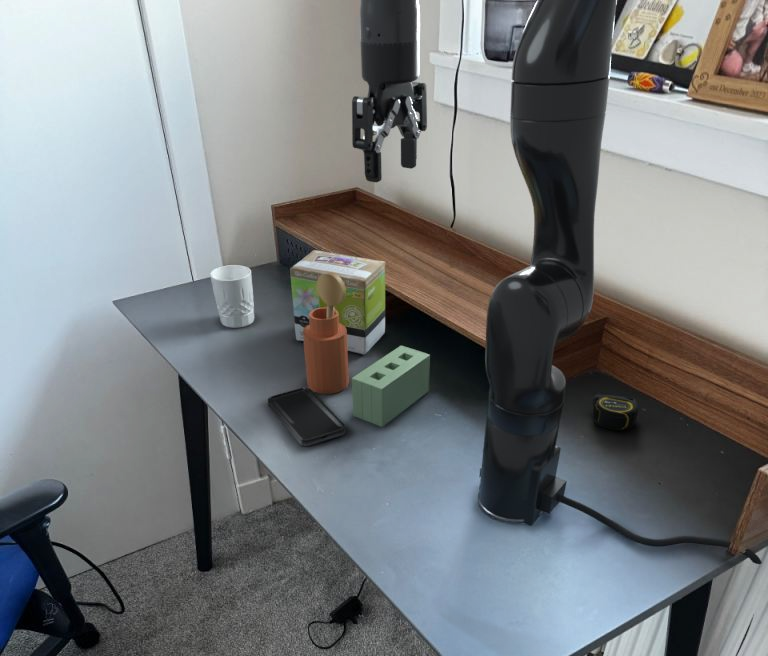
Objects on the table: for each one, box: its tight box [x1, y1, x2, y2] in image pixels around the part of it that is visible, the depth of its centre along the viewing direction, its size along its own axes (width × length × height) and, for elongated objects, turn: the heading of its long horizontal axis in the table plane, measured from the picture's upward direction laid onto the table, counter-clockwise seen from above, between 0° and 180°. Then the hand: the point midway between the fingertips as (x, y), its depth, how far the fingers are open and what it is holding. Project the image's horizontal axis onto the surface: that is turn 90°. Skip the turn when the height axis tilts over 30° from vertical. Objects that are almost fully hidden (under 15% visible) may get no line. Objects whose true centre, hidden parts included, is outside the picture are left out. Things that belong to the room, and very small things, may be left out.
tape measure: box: [592, 393, 639, 431], centre depth 115 cm, size 7×7×4 cm
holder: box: [351, 345, 431, 428], centre depth 119 cm, size 6×14×7 cm, turn 144°
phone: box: [267, 386, 346, 447], centre depth 117 cm, size 8×1×15 cm
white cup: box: [209, 264, 255, 329], centre depth 143 cm, size 8×8×10 cm
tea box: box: [289, 249, 386, 356], centre depth 135 cm, size 15×10×15 cm
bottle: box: [303, 307, 350, 395], centre depth 122 cm, size 7×7×13 cm
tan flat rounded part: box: [317, 272, 346, 319], centre depth 119 cm, size 5×1×20 cm, turn 54°
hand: (391, 174), depth 101 cm, fingers open, 8 cm apart
